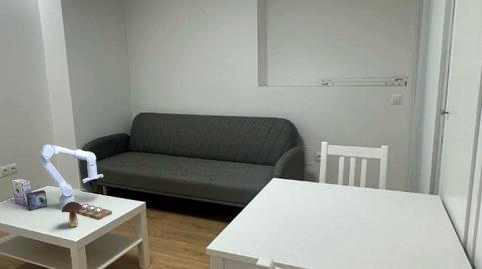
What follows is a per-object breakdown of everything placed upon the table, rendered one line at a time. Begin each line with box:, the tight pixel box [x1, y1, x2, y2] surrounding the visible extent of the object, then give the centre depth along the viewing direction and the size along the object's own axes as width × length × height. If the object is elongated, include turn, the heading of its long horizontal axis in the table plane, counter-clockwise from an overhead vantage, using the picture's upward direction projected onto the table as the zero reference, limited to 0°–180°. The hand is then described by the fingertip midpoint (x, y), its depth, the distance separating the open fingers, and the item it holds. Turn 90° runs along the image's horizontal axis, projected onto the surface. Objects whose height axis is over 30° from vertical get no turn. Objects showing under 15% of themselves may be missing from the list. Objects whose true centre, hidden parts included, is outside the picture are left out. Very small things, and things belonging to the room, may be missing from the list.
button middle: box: [87, 205, 96, 211], centre depth 221 cm, size 4×4×4 cm
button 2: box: [94, 206, 102, 213], centre depth 217 cm, size 4×4×4 cm
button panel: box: [75, 204, 113, 221], centre depth 221 cm, size 26×10×2 cm, turn 58°
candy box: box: [11, 178, 33, 207], centre depth 241 cm, size 14×6×16 cm, turn 58°
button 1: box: [81, 203, 90, 210], centre depth 224 cm, size 4×4×4 cm
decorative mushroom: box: [61, 201, 83, 228], centre depth 200 cm, size 11×11×15 cm
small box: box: [26, 189, 49, 212], centre depth 232 cm, size 11×6×10 cm, turn 131°
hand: (94, 190), depth 236 cm, fingers closed
